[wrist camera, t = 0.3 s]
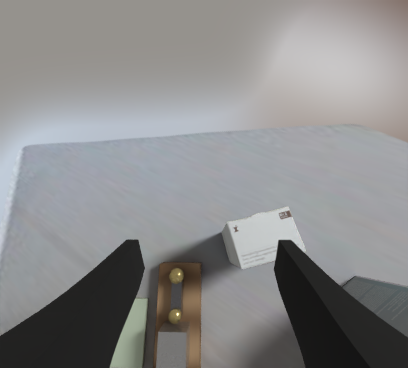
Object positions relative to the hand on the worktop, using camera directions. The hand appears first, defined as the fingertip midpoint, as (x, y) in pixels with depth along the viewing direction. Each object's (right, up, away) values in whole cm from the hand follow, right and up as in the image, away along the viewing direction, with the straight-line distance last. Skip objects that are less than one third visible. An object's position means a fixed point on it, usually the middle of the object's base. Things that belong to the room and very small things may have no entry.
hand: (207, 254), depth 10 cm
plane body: (-4, -20, +24) cm, 31 cm away
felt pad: (-15, -22, +24) cm, 36 cm away
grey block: (-4, -21, +20) cm, 29 cm away
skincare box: (+8, -7, +27) cm, 29 cm away
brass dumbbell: (-4, -14, +22) cm, 26 cm away
